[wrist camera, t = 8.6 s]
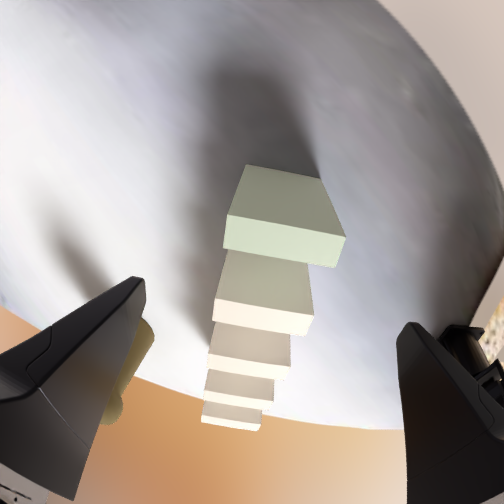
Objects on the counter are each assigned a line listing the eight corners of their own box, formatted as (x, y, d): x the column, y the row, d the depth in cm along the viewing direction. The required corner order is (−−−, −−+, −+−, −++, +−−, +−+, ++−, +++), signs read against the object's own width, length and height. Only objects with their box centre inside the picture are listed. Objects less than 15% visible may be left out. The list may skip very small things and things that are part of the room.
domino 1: (235, 224, 21) (214, 298, 14) (303, 237, 21) (314, 315, 14) (232, 243, 22) (212, 320, 15) (297, 256, 22) (304, 336, 15)
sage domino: (246, 164, 19) (227, 214, 12) (320, 179, 19) (346, 237, 12) (242, 186, 19) (222, 248, 13) (315, 200, 20) (334, 268, 13)
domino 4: (216, 345, 28) (201, 414, 21) (265, 354, 28) (260, 424, 21) (214, 354, 29) (200, 421, 22) (262, 363, 29) (257, 431, 22)
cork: (97, 303, 27) (47, 387, 17) (150, 314, 27) (108, 411, 17) (110, 341, 30) (73, 419, 21) (158, 352, 30) (128, 439, 20)
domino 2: (226, 274, 23) (208, 353, 17) (288, 286, 23) (290, 366, 17) (224, 289, 24) (206, 368, 17) (283, 300, 24) (283, 380, 18)
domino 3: (220, 314, 26) (204, 389, 19) (276, 324, 26) (273, 401, 19) (219, 326, 27) (203, 399, 20) (272, 335, 27) (268, 410, 20)
